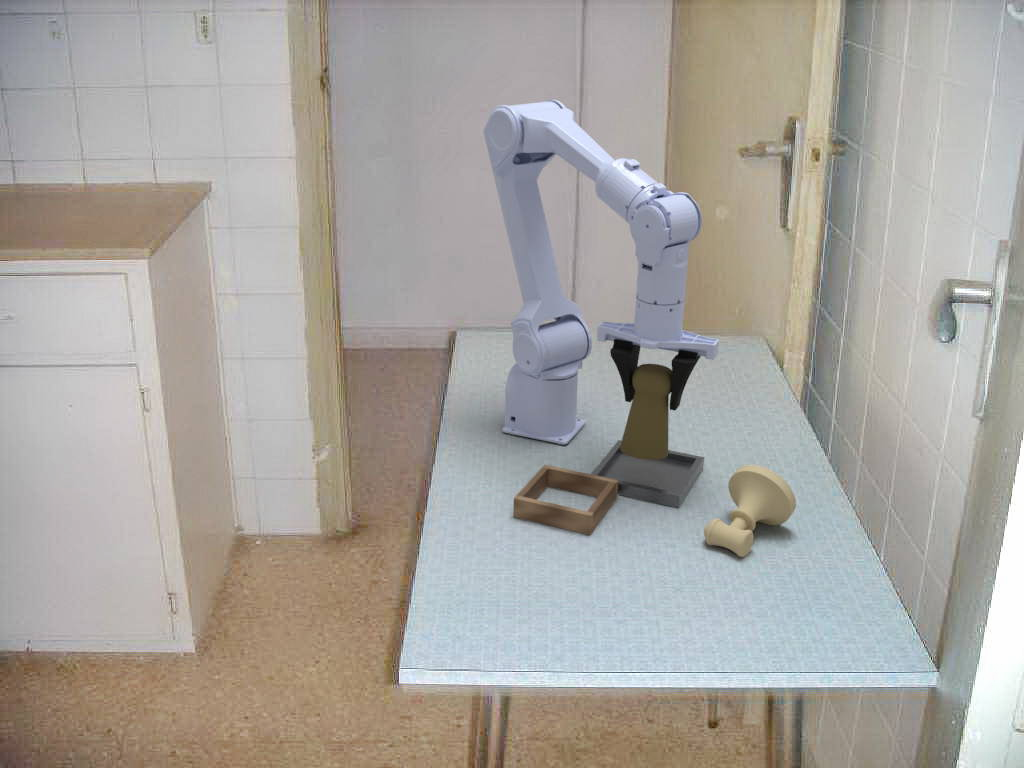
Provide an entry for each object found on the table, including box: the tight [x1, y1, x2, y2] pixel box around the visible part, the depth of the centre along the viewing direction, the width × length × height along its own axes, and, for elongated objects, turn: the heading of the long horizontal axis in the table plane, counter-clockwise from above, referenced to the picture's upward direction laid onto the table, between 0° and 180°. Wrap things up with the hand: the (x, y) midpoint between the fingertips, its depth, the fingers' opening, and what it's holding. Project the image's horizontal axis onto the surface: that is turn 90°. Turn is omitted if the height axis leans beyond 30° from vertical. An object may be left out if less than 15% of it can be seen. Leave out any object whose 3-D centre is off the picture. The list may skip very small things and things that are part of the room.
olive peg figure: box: [620, 363, 672, 460], centre depth 133 cm, size 6×6×11 cm
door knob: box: [703, 464, 797, 558], centre depth 123 cm, size 10×8×8 cm
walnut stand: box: [512, 464, 618, 536], centre depth 129 cm, size 10×10×2 cm
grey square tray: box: [590, 439, 705, 509], centre depth 137 cm, size 12×12×2 cm
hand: (652, 403), depth 133 cm, fingers closed on olive peg figure, 5 cm apart
